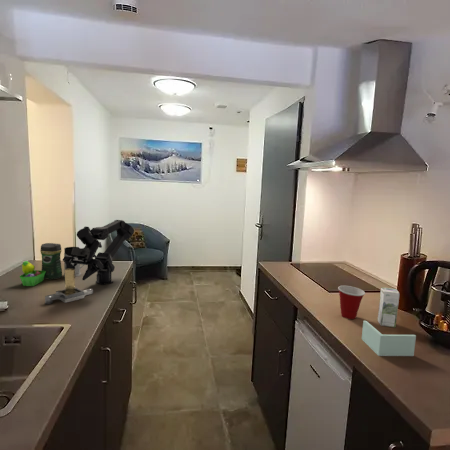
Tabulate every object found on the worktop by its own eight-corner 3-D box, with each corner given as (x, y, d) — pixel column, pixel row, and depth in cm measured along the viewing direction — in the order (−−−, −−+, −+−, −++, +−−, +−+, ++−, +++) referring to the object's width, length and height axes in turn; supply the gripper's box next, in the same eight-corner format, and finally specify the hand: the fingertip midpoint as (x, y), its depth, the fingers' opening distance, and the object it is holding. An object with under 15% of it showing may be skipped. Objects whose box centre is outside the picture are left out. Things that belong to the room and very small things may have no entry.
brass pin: (69, 296, 156) (68, 268, 154) (77, 297, 155) (76, 268, 153) (63, 298, 152) (62, 270, 150) (71, 299, 151) (70, 271, 149)
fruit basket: (34, 287, 166) (34, 264, 164) (16, 286, 166) (15, 263, 164) (46, 280, 177) (46, 259, 176) (29, 279, 177) (28, 258, 176)
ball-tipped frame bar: (87, 290, 164) (87, 284, 164) (97, 294, 159) (97, 288, 158) (41, 301, 148) (40, 294, 147) (50, 306, 142) (49, 299, 142)
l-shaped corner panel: (413, 357, 113) (415, 335, 112) (378, 357, 112) (380, 335, 111) (393, 340, 125) (395, 320, 124) (361, 340, 124) (363, 320, 123)
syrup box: (392, 322, 140) (395, 288, 138) (395, 328, 135) (399, 292, 133) (377, 320, 142) (380, 286, 140) (380, 326, 136) (384, 290, 134)
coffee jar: (64, 276, 185) (64, 242, 183) (55, 280, 177) (55, 245, 175) (48, 275, 186) (47, 241, 184) (38, 279, 178) (37, 244, 176)
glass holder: (61, 274, 189) (60, 247, 187) (86, 270, 199) (86, 244, 197) (67, 277, 183) (66, 250, 181) (93, 273, 193) (93, 247, 191)
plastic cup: (359, 324, 137) (362, 295, 136) (332, 317, 143) (335, 289, 141) (365, 315, 146) (367, 288, 145) (339, 309, 152) (341, 283, 150)
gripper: (64, 238, 160) (47, 267, 151) (99, 242, 155) (83, 272, 146) (76, 251, 169) (61, 279, 160) (109, 255, 164) (95, 284, 155)
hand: (74, 278), depth 155 cm, fingers open, 9 cm apart
